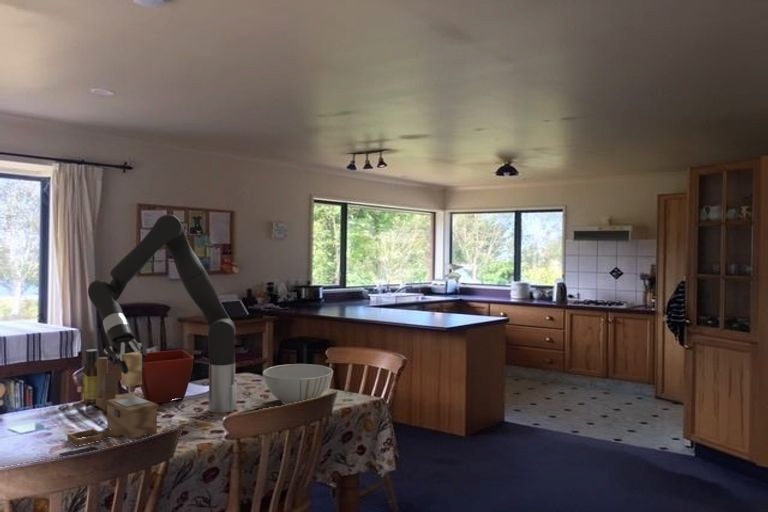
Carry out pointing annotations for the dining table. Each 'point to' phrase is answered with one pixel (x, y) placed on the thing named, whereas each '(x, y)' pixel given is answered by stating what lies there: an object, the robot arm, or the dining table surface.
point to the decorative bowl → (297, 381)
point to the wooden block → (104, 383)
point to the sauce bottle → (90, 376)
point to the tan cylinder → (132, 369)
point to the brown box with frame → (123, 420)
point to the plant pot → (166, 375)
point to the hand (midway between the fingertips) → (134, 371)
